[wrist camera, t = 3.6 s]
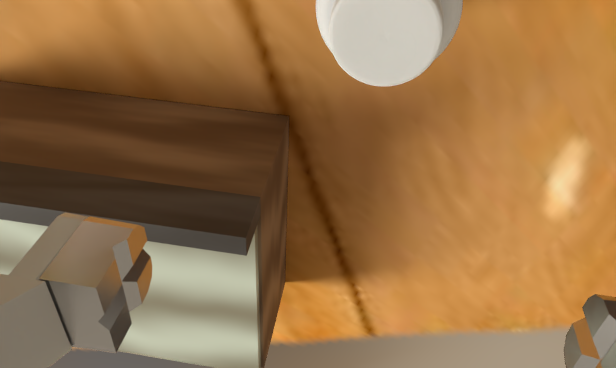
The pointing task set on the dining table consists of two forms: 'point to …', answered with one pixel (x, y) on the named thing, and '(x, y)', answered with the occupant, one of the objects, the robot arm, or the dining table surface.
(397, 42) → the supplement bottle
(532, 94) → the dining table surface
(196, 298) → the open wooden crate
